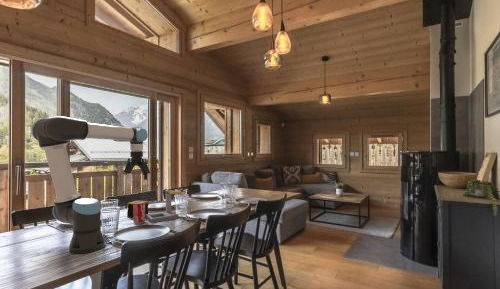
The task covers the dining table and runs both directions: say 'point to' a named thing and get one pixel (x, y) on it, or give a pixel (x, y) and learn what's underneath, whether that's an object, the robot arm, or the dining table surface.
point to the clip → (175, 192)
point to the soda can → (139, 212)
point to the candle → (130, 208)
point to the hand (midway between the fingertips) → (136, 184)
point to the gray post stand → (163, 213)
